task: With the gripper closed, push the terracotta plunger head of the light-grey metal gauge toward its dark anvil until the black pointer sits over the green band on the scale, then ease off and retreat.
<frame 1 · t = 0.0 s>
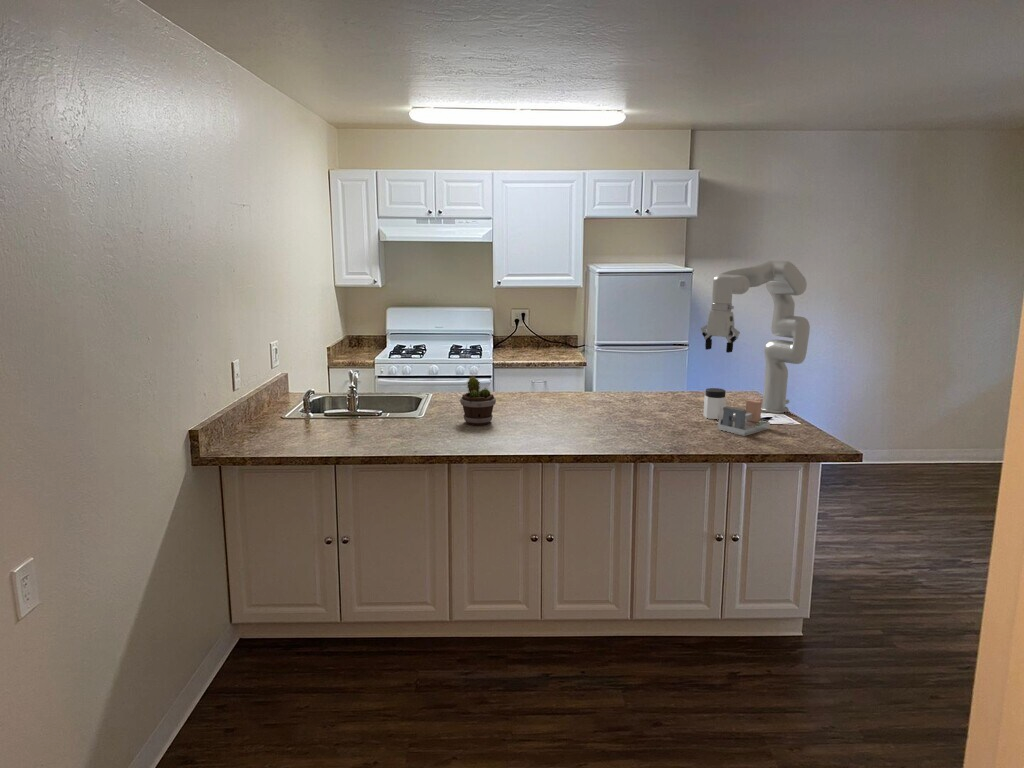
hand: (718, 350, 287), 31 cm above the worktop, tool pointing down, fingers open, 9 cm apart
flowerpot: (478, 423, 298), on the worktop
plunger: (749, 413, 288), point 7 cm above the worktop, slide at 0.0 cm
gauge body: (743, 429, 290), on the worktop
jar: (713, 417, 309), on the worktop
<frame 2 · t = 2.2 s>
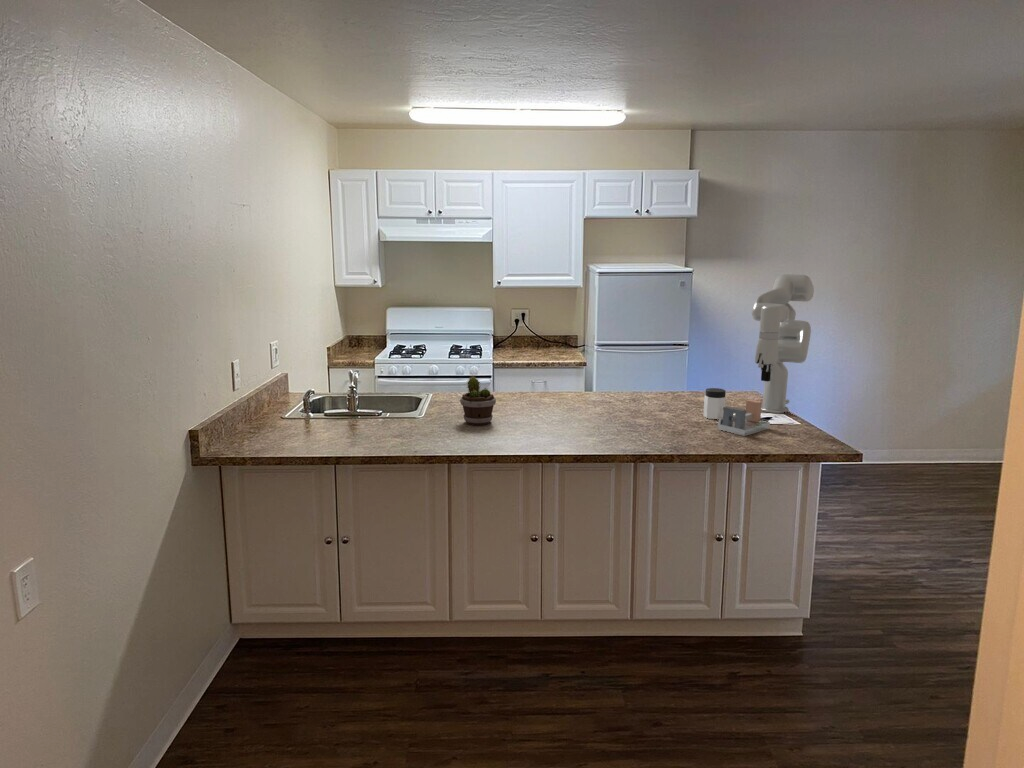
hand: (765, 380, 295), 18 cm above the worktop, tool pointing down, fingers closed
nothing on the worktop moved.
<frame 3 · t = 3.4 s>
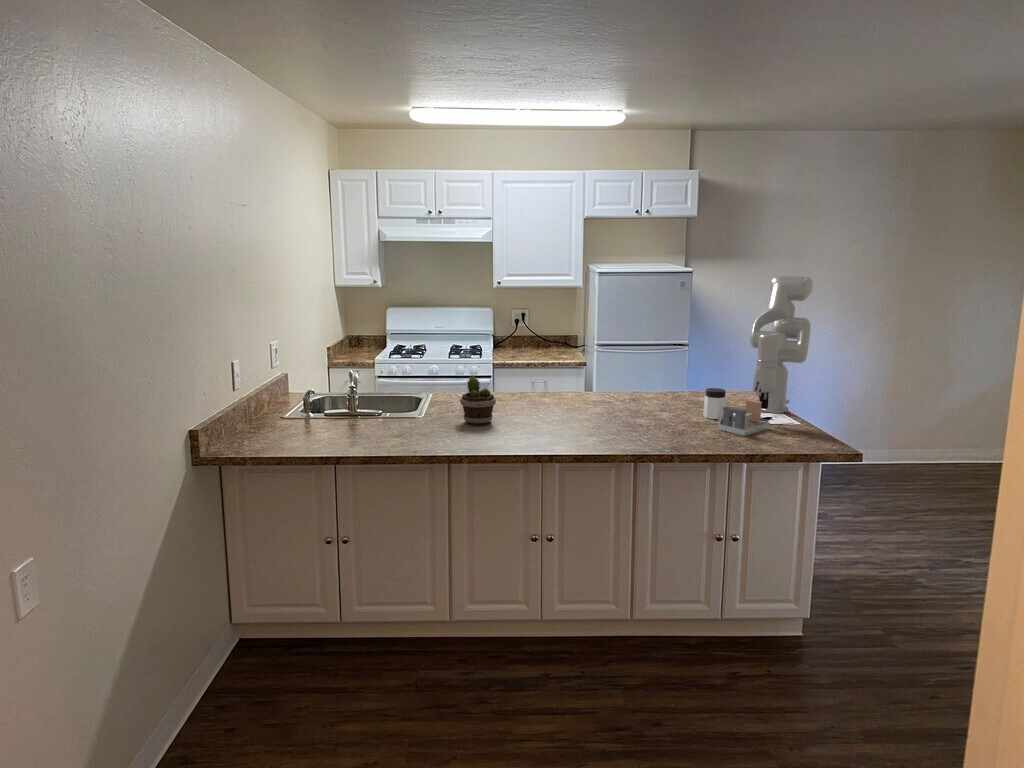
hand: (763, 408, 297), 7 cm above the worktop, tool pointing down, fingers closed
nothing on the worktop moved.
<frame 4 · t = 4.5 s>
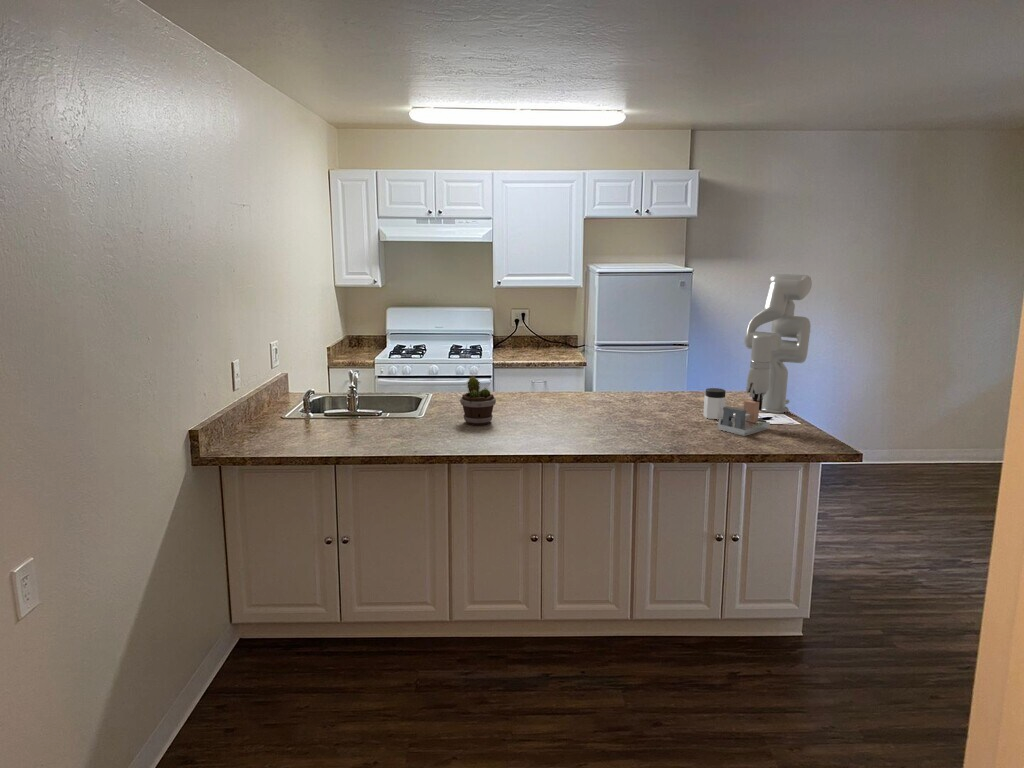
hand: (756, 409, 294), 7 cm above the worktop, tool pointing down, fingers closed
plunger: (747, 413, 287), point 7 cm above the worktop, slide at 1.6 cm, touching gripper
everything else where it was.
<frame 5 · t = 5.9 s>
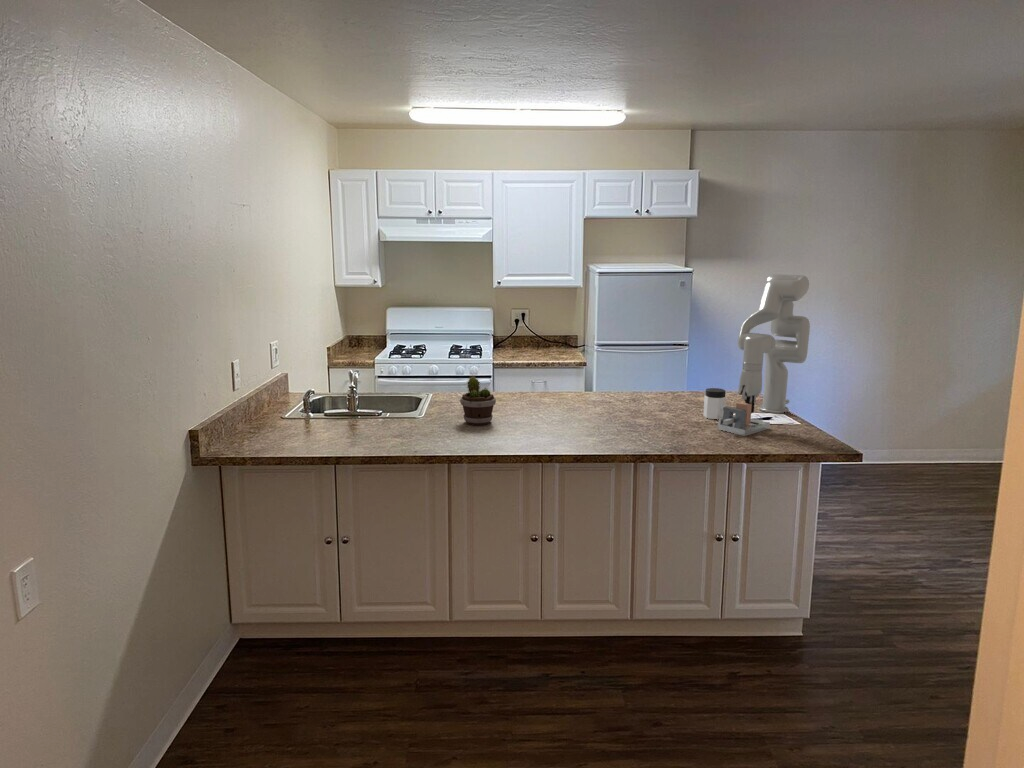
hand: (749, 411, 291), 7 cm above the worktop, tool pointing down, fingers closed
plunger: (739, 416, 284), point 7 cm above the worktop, slide at 7.1 cm
everything else where it was.
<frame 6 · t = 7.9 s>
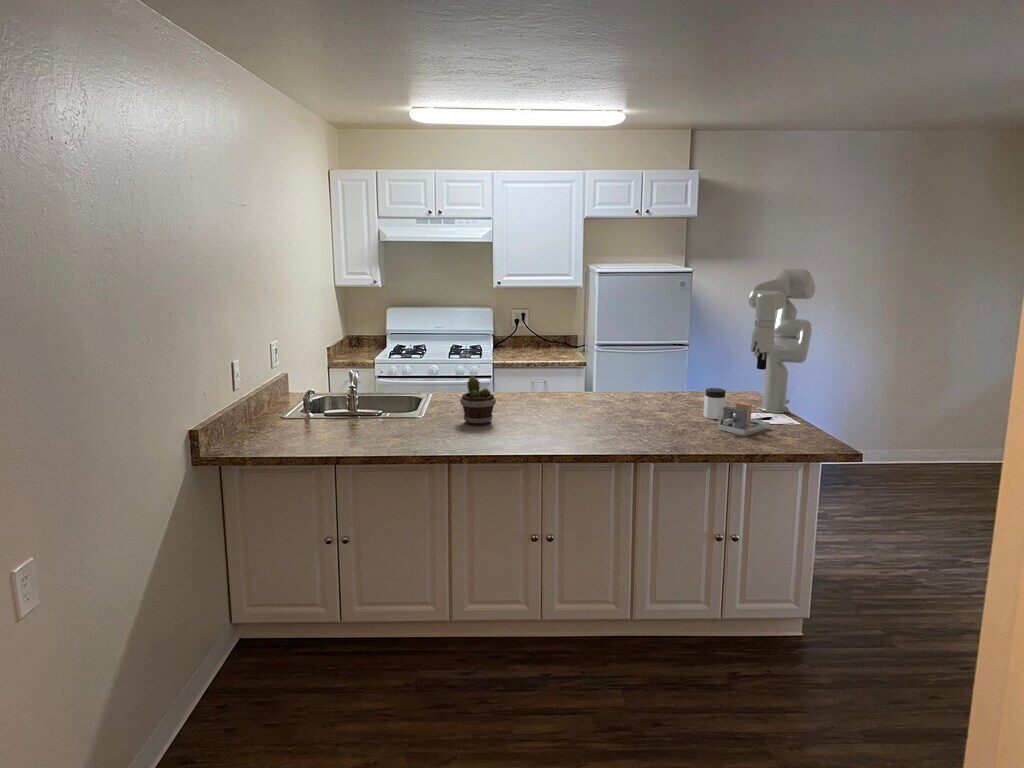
hand: (761, 368, 293), 23 cm above the worktop, tool pointing down, fingers closed
nothing on the worktop moved.
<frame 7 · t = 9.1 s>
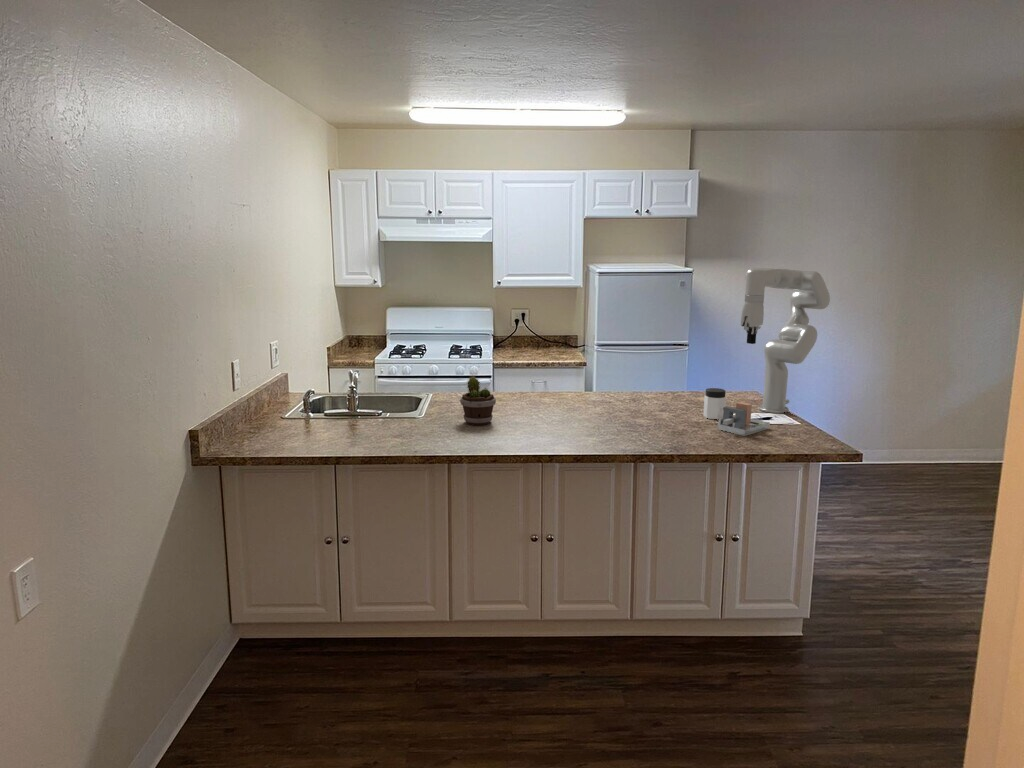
hand: (751, 343, 302), 32 cm above the worktop, tool pointing down, fingers closed
nothing on the worktop moved.
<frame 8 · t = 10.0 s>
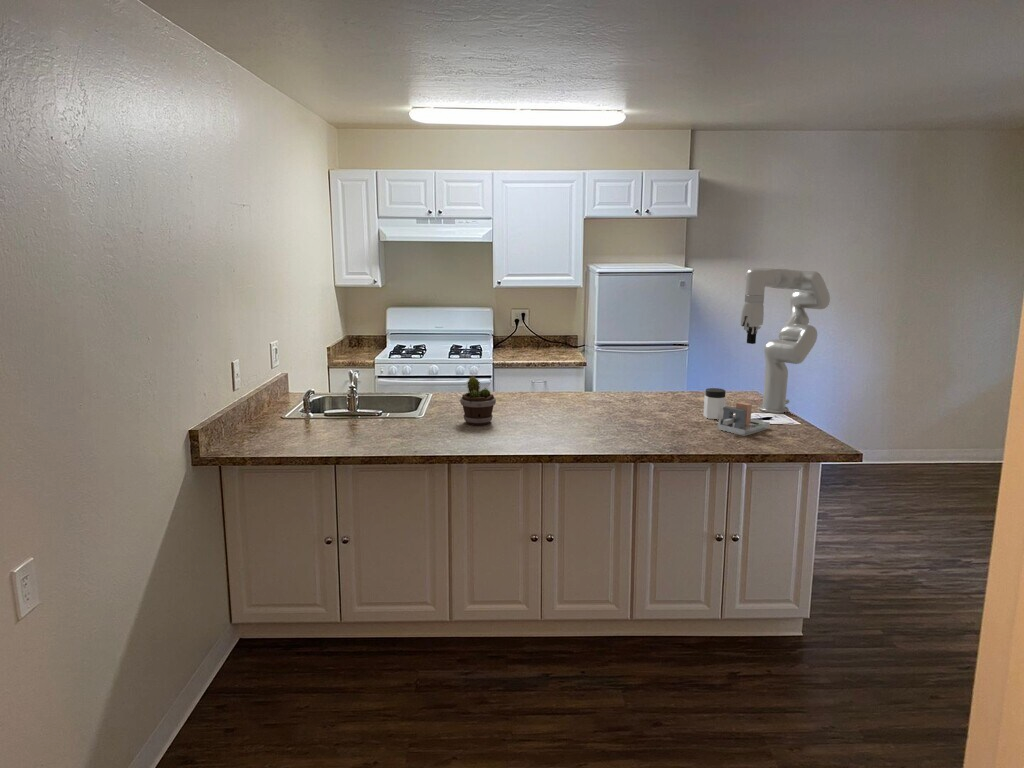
hand: (751, 343, 302), 32 cm above the worktop, tool pointing down, fingers closed
nothing on the worktop moved.
at the end: plunger slide at 7.1 cm; jar moved 0.2 cm from its start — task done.
